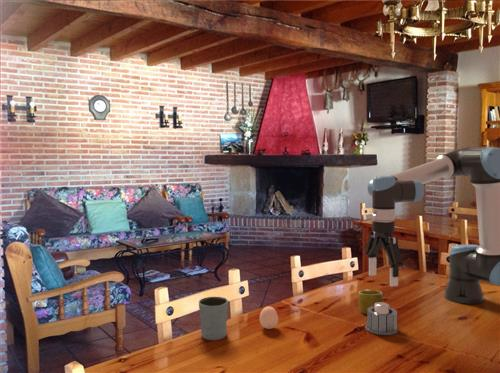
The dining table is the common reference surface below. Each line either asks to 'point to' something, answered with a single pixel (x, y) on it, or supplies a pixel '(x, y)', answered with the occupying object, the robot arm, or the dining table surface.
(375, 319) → the ring
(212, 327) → the grey cup
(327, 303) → the dining table surface
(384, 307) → the piston post
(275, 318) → the egg
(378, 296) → the mug
